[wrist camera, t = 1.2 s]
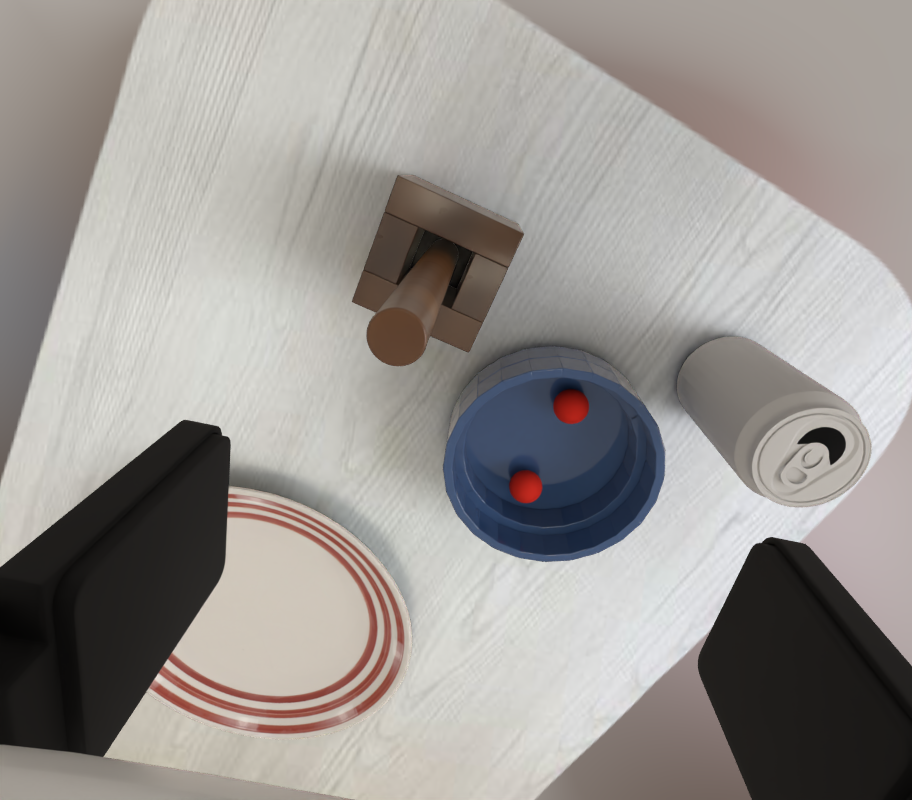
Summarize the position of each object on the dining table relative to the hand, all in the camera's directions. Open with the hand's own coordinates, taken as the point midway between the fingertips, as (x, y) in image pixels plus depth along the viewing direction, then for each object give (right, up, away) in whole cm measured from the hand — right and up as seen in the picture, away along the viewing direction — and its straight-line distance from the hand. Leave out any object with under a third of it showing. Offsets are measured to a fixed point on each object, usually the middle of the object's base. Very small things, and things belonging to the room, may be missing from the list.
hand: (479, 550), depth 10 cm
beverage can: (+18, +4, +29) cm, 34 cm away
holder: (-1, +12, +27) cm, 29 cm away
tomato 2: (+8, +3, +29) cm, 30 cm away
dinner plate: (-17, -15, +39) cm, 45 cm away
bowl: (+6, 0, +31) cm, 32 cm away
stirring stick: (-1, +12, +27) cm, 29 cm away
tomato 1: (+5, -3, +32) cm, 32 cm away
